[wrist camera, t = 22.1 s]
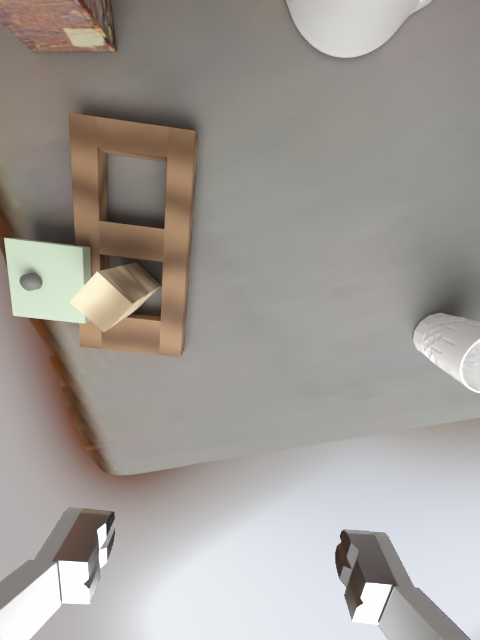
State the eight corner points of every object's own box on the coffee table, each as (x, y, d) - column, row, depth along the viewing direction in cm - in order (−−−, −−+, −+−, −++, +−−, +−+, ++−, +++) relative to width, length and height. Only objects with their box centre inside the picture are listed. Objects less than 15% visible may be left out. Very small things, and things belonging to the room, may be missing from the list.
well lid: (16, 237, 34) (-3, 237, 31) (90, 247, 34) (77, 247, 32) (23, 311, 36) (6, 317, 34) (92, 319, 37) (81, 326, 34)
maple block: (115, 284, 38) (69, 301, 28) (136, 262, 38) (97, 271, 27) (139, 307, 39) (104, 332, 29) (161, 285, 38) (132, 303, 28)
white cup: (400, 353, 42) (449, 387, 32) (420, 303, 40) (478, 325, 30) (449, 362, 42) (511, 398, 33) (470, 313, 40) (544, 337, 30)
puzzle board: (81, 121, 33) (68, 112, 30) (198, 138, 33) (195, 130, 31) (89, 340, 41) (79, 346, 38) (183, 350, 41) (180, 357, 39)
